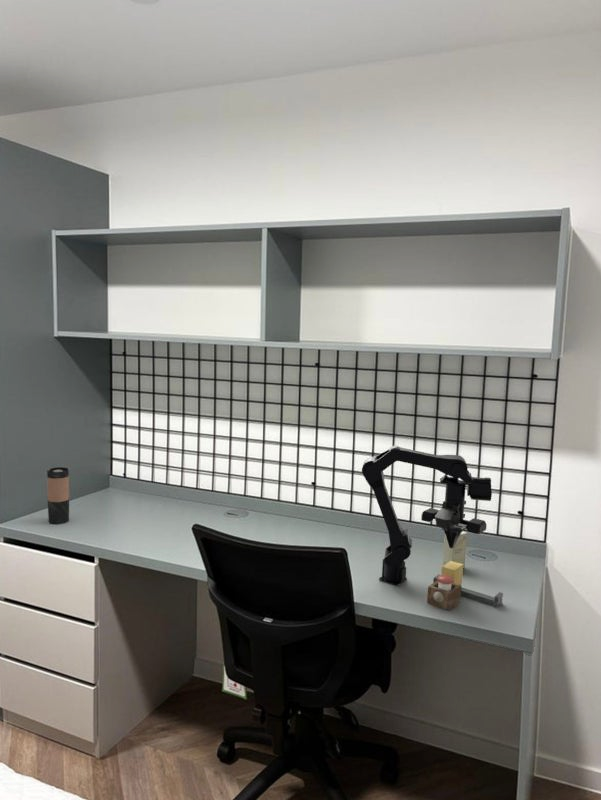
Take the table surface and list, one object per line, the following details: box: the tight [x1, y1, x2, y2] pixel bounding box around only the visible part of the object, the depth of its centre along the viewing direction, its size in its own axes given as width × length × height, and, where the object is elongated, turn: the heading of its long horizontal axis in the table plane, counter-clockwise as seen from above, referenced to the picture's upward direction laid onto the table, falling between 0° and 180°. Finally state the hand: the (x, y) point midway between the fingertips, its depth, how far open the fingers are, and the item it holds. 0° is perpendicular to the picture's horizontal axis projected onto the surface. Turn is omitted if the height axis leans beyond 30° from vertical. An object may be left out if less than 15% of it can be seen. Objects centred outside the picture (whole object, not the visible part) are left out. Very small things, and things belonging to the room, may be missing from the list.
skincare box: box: [442, 530, 468, 569], centre depth 209 cm, size 6×4×12 cm
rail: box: [432, 573, 504, 608], centre depth 189 cm, size 20×4×3 cm, turn 52°
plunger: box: [437, 574, 453, 591], centre depth 183 cm, size 4×4×7 cm
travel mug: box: [46, 466, 70, 525], centre depth 241 cm, size 8×8×20 cm
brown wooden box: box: [426, 580, 462, 612], centre depth 184 cm, size 7×7×5 cm
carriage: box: [441, 561, 464, 586], centre depth 192 cm, size 4×6×8 cm, turn 142°
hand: (451, 547), depth 194 cm, fingers closed
